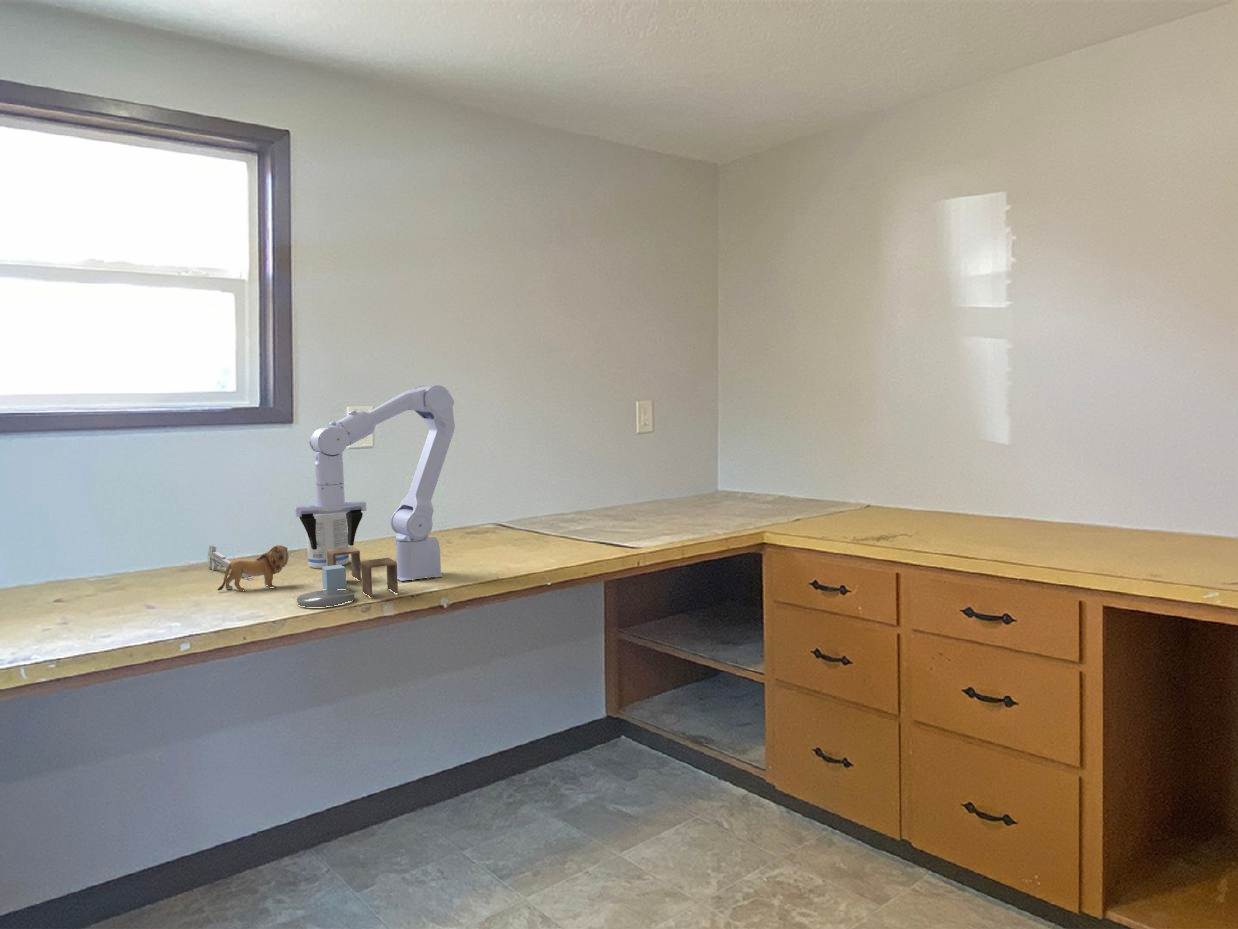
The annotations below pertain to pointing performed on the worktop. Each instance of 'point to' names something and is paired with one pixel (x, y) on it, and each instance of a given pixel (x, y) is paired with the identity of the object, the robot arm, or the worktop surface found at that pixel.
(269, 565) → the lion figurine
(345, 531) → the supplement tub
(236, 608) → the worktop surface
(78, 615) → the worktop surface
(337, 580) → the block
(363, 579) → the brown wooden stool
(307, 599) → the dish
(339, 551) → the brown wooden arch
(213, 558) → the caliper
